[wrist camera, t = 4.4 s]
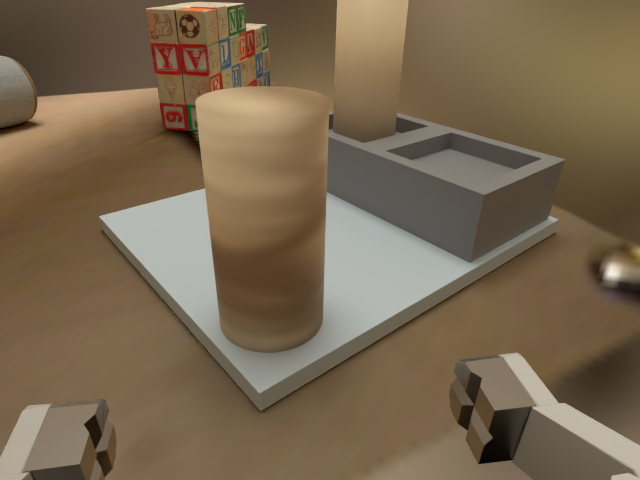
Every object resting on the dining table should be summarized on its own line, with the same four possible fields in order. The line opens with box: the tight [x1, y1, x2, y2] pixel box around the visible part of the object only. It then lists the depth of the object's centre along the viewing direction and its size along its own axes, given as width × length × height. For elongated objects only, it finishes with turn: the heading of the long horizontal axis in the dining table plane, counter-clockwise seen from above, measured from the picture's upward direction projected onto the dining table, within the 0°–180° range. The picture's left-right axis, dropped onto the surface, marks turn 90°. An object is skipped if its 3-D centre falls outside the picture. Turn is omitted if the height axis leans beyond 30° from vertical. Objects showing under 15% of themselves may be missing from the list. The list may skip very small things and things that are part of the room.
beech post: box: [195, 86, 329, 353], centre depth 19 cm, size 5×5×10 cm
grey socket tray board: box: [99, 0, 565, 411], centre depth 28 cm, size 24×19×14 cm
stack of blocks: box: [146, 2, 270, 131], centre depth 57 cm, size 21×6×12 cm, turn 169°
